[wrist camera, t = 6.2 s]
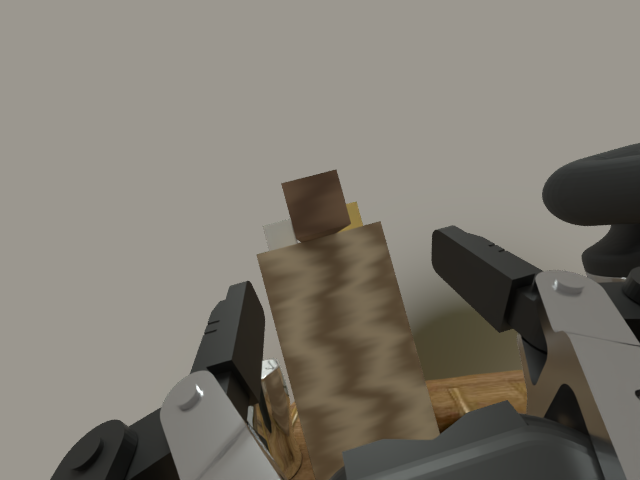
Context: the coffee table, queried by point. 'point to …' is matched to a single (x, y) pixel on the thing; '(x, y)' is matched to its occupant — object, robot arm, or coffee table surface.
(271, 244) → the grey cube
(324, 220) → the brown wooden bar
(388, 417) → the oak pedestal
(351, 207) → the mustard cube
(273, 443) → the beer glass
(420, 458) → the robot arm
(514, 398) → the coffee table surface
